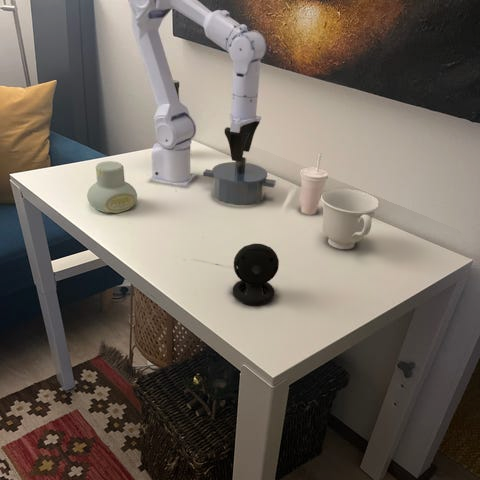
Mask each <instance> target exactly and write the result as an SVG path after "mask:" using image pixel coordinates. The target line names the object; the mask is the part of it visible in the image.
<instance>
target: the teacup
mask: <svg viewBox="0 0 480 480" xmlns="http://www.w3.org/2000/svg"><path fill="white" fill-rule="evenodd" d="M320 201H321V202H322V203H323V204H322V209H323V211H322V230H323V234H324V235H325V236H326V237H327V238H328V239H327V243H328V244H329V245H330V246H331V247H333V248H336V249H339V250H351V249H353V248H354V247H355V245H356V243H358V242H360V241H361V240H362V239H363V238H365V236H367V235H369V233H370V231H371V228H372V218H373V216H374V214H375V212H376V211H377V210H378V209H380V207H381V206H380V205H381V204H380V201H379V200H378V199H377V198H376V197H375V196H373V195H372V194H370V193H367V192H366V191H365V192H364V191H362V190H357V189H353V188H331V189H327V190H326V191H324V192H322V194H321V197H320Z"/></svg>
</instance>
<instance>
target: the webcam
mask: <svg viewBox="0 0 480 480" xmlns="http://www.w3.org/2000/svg"><path fill="white" fill-rule="evenodd" d="M233 259H234V260H233V271H234V274H235V275H236V277H237V278H238V279H239V281H236V282H235V283H234V285H233V287H232V294H233V297H234V298H235V299H236V300H237V301H239V302H241V303H243V304H246V305H250V306H261V305H265V304H268V303H269V302H272V300H273V299H274V297H275V293H276V291H275V288H274V287H273V285H272V284H271V283H269V282H270V281H271V280H273V278H274V277H275V276H276V274H277V273H278V271H279V265H280V261H279V257H278V254H277V253H276V251H274V249H273V248H272V247H271V246H268V245H266V244H263V243H251V244H247V245H244V246H243V247H242V248H240V249H239V250H238V251H237V253H236V254H235V256H234V258H233ZM244 288H245V291H246V292H245V293H244V292H242V289H244ZM263 290H264V291H265V292H266V293H265V294H264V292H263Z"/></svg>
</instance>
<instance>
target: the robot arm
mask: <svg viewBox="0 0 480 480" xmlns="http://www.w3.org/2000/svg"><path fill="white" fill-rule="evenodd" d="M128 4H129V7H130V11H131V28H132V31H133V35H134V37H135V41H136V44H137V47H138V50H139V53H140V54H139V55H140V56H141V59H142V62H143V67H144V69H145V73H146V75H147V78H148V82H149V85H150V89H151V91H152V94H153V97H154V100H155V104H156V107H157V109H156V111H155V114H154V116H153V122H154V126H155V128H154V133H155V138H156V141H157V142H155V143H154V144H153V147H152V150H151V172H152V174H151V175H152V178H151V180H152V181H158V182H164V183H169V184H175V185H180V186H181V185H182V186H187V185H188V184H189V183H190V182H191V181H192V179H194V178H195V176H196V174H193V173H191V145H192V139H193V138H195V136H196V133H197V126H196V122H195V120H194V119H193V117H192V116H191V114H190V112H189V109H188V107H187V106H186V105H184V104H183V103H182V102H181V100H180V97H179V98H178V95H177V92H176V88H175V85H174V82H173V80H174V79H173V76H172V72H171V68H170V65H169V62H168V58H167V55H166V51H165V49H164V46H163V45H164V44H163V42H162V39H161V35H160V32H159V29H160V26H161V25H162V22H163V20H164V19H165V18H166V17H167V16H168V14H170V12H171V11H173V10H175V11H177V12H178V13H179V14H182V15H184V16H185V17H187V18H188V19H190V20H191V21H193V22H194V23H195V24H197V25H199V26H201V27H203V29H204V34H205V36H206V38H207V39H209V40H210V41H212V42H213V43H215V44H216V45H217V46H218V47H219V48H222V49H223V50H225V51H226V52H227V53H228V54H229V57H230V59H231V60H232V87H231V88H232V89H231V105H230V114H229V120H230V126H229V127H228V126H227V127H225V128H224V136H225V137H226V139H227V142H228V145H229V152H230V157H231V158H230V159H231V162H236V161H238V162H241V160H242V157H244V152H247V153H249V152H250V150H251V147H252V143H253V140H254V135H255V133H256V130H257V128H258V126H259V125H260V123H261V121H262V116H260V115H257V109H258V108H257V107H258V98H259V97H258V96H259V85H260V73H261V72H260V71H261V60H262V59H263V58H264V56H265V54H266V51H267V42H266V39H265V37H264V36H263V35H262V34H261V33H260V31H259V30H256V29H255V30H254V29H253V30H248V26H247V25H246V24H245V23H242V24H240V22H238V21H237V20H235V19H233V18H232V17H231V16H230V15H231V14H230V12H229V11H228V10H226V9H224V10H223V9H222V10H221V9H217V10H214V11H211V10H210V9H209V8H208V7H206V6H205V5H204V4H203V3H202V2H200V1H199V0H128ZM179 100H180V101H179ZM171 117H173V118H171Z"/></svg>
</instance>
